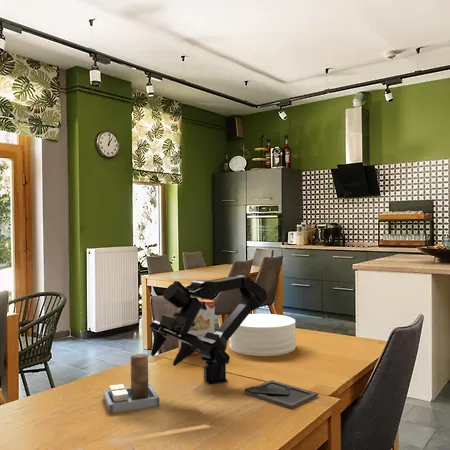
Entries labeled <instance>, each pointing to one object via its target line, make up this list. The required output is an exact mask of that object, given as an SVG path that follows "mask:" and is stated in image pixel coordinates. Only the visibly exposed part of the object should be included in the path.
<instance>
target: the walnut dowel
mask: <svg viewBox="0 0 450 450" xmlns="http://www.w3.org/2000/svg"><path fill="white" fill-rule="evenodd" d="M148 385H149V355H148V354H146V353H135V354H132V355H130V387H131V401H132V400H138V399H145V398H148Z"/></svg>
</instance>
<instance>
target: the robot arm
mask: <svg viewBox="0 0 450 450" xmlns="http://www.w3.org/2000/svg"><path fill="white" fill-rule="evenodd" d="M237 289H238V292H239V293H240V294H241V295H240V301H239V302H240V303H239V304H238V305H237V306H236V307H235V309H234V310H233V311H232V312H231V313H230V315H229V316H228V317H227V318H226V319H225V320H224V321H223V323H222V324H221V325H220V326H219V327H218V329H217V330H215V333H211V332H207V333H206V335H205V336H204V337H203V338H202V339H201V340H200V339H199V338H198V337H197V336H195V335H192V334H189V333H188V332H189V330H190V328H191V326H193V327H194V326H195V323H194V320H195V319H196V317H197V315H198V313H199V311H200V309H202V310H207V307H206V305H205V302H204V301H199V299H202V300H209V299H210V298H212V297H215V296H216V295H217V294H218V293H221V292H227V291H230V290H231V291H232V290H237ZM162 296H163V299H164V300H166V301H167V302H168V303H169V304H171V305H172V306H174V307H175V308H176V309H179V308H181V309H180V311H179V310H178V311H177V312H176V311H175V313H173V315H168V314H161V316H160V317H161V318H160V321H158V320H153V321H151V323H150V324H149V326H148V327H149V328H150V332H151V333H152V334H153V341H152V348H151V351H150V352H151V353H150V356H152V357H155V356H156V354H157V353H158V352H159V350H160V349H161V347H162V346H163V345H164V343H165V342H166V341H167V336H170V337H172V338H175V339H177V340H178V341H179V340H182V341H184V342H182V341H181V348H180V350H179V349H178V352H177V354H176V357H175V358H174V360H173V363H172V366H174V367H177V365H179V364H180V363H181V362H183V361H184V360H185V359H186V358H187V357H189V356H191V354H192V353H194V352H197V351H196V350H198V351H199V354H198V355H200V357H201V360H202V361H203V362H204V366H203V379H204V380H205V381H206V382H207V384H209V385H212V384H213V385H214V384H219V383H220V384H221V383H227V382H228V381H229V380H228V379H227V376H226V371H227V370H226V365H227V364H229V363H230V359H231V357H230V355H229V354H228V353H227V352H226V351H227V347H228V341H229V338H230V337H231V336H232V335H233V333H234V332H235V331H236V330H237V328H238V327H239V326H240V325H241V323H242V322H243V321H244V320H245V319H246V317H247V316H248V315H249V314H251V313H252V312H254V311H256V310H257V309H259V308H260V307H262V306H263V305H264V304H265V303H266V302H267V299H268V295H267V291H266V289H265V288H263V287H261V285H260V284H258V283H256V282H255V281H253V280H252V279H251V277H249V276H248V275H242V274H238V275H235V276H231V277H226V278H225V277H224V278H220V279H214V280H208V279H195V280H192V281H191V283H190V284H188V285H187V286H185V285H183V284H182V283H181V282H180V281H178V280H174V281H173V283H172V284H169V285H168V287H166V288H165V289H164V291H163V294H162ZM179 335H180V336H181V337H180V336H179ZM185 342H186V343H185Z"/></svg>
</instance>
